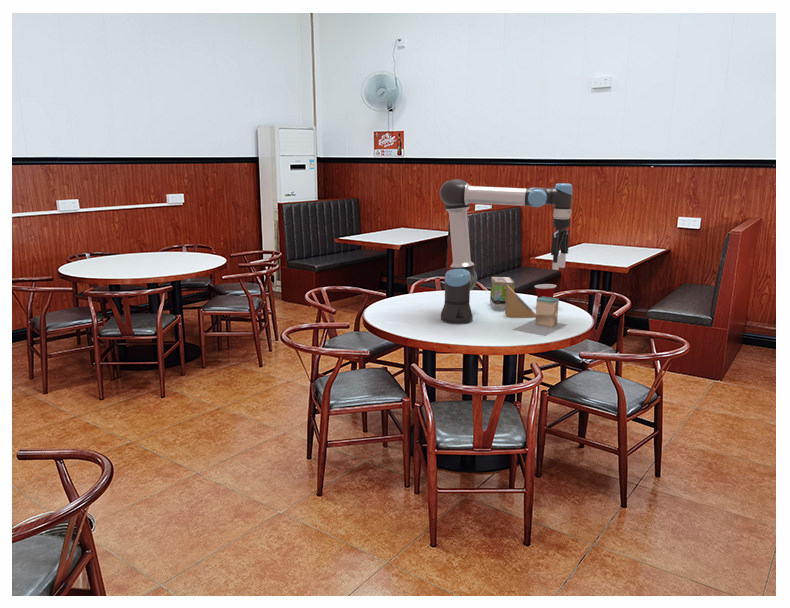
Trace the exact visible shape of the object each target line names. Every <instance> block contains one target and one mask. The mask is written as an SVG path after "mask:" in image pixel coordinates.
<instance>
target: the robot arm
mask: <svg viewBox="0 0 790 608" xmlns="http://www.w3.org/2000/svg"><path fill="white" fill-rule="evenodd" d="M439 197H440V200H441V201H442V203H444V209H445V210H446V212H448V217H449V219H448V220H449V231H450V243H451V253H452V254H451V255H452V263H451V265H450V266H449V268H450V269H449V270H447V271H445V274H444V275H445V276H444V304H443V308H442V310H441V313H440V321H441V322H443V323H447V324H452V325H453V324H454V325H455V324H457V325H460V324H462V325H463V324H469V323H471V322H473V319H474V318H473V317H474V316H473V312H472V309H471V305H470V298H471V297H470V295H471V293H470V292H471V291H472V290H473V289H474V288H475V286H476V285H477V281H478V276H477V272H476V270H475V263H474V262H472V260H471V246H470V236H469V235H470V233H469V223H468V222H469V221H468V210H469V209H470V208H471V206H470V204H483V205H503V206H519V207H521V206H524V207H534V208H540V207H543V206H545V205H547V206H549V205H550V206H552V205H553V216H552V217H553V219H552V227H554V228H555V232H552V235H551V236H552V238H551V239H552V241H551V249H550V250H551V251H550V256H552V267H551V269H552V270H556V271H558V270H560V269H562V268H563V269H565V268H566V258H567V257H566V256H567V254H569V244H570V243H569V242H570V241H569V239H570V238H569V237H570V230H569V228H570V227H571V219H570V218H571V217H572V216H571V215H572V204H573V185H572V184H571V183H556V184H555V185H554V187H530V188H525V187H524V188H523V187H521V188H520V187H503V186H501V187H499V186H498V187H497V186H481V185H478V186H477V185H470V183H467V182H466V181H464V180H463V179H459V178H454V179H451V180H447V181H445V182H444V183H443V184H442V185H441V187H440V188H439ZM567 228H568V229H567ZM559 268H560V269H559Z"/></svg>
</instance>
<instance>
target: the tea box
mask: <svg viewBox="0 0 790 608" xmlns="http://www.w3.org/2000/svg"><path fill="white" fill-rule="evenodd" d="M490 279H491V280H490V293H489V295H490V298H489V303H490V306H491V308H492V309H493V311H501V310H505V301H506V285H508V286H509V287H510V288H511V289H512V290H513V291H514V292H515V281H514V280H513V279H512V278H511V277H510V276H509V277H508V276H506V277H505V276H491V278H490Z"/></svg>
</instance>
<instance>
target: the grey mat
mask: <svg viewBox="0 0 790 608" xmlns="http://www.w3.org/2000/svg"><path fill="white" fill-rule="evenodd" d="M568 325H569V324H567V323H561V322H557V325H555V326H553V327H548V326H543V325H537V324H535V319H532V320H530V321H528V322H526V323H524V324H521V325H519V326H517V327H514V328H512V329H511V330H512V331H518V332H522V333H527V334H534V335H538V336H542V337H546V336H548V335H550V334H552V333H555V332H556V331H558V330H560V329H562V328H564V327H566V326H568Z"/></svg>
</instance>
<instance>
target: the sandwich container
mask: <svg viewBox="0 0 790 608" xmlns="http://www.w3.org/2000/svg"><path fill="white" fill-rule="evenodd" d="M504 314H506V315H505V317H506V316H507V317H506V318H522V319H523V318H529V319H530V318H534V319H536V312H534V310H533V309H532V308H531V307H530V306H529V305H528V304H526V302H525V301H524V300H523V299H522V298H521V297H520V296H519V295H518V294H517V293H516V292H515V290H514V291H513V290H512V289H511V288H510V287H509V286H508V285H506V301H505V311H504Z"/></svg>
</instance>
